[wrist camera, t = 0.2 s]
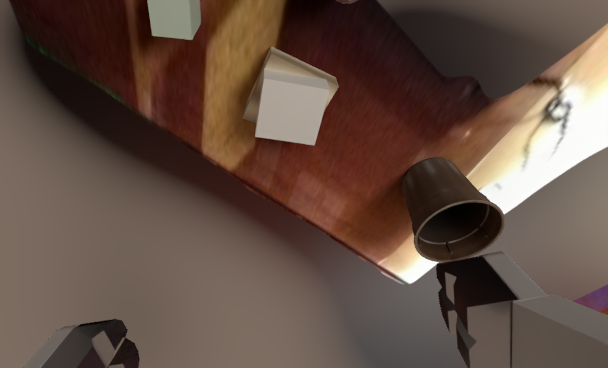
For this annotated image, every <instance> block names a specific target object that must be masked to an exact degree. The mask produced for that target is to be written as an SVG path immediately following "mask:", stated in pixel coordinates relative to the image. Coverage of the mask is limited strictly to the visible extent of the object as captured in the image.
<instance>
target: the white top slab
mask: <svg viewBox="0 0 608 368" xmlns="http://www.w3.org/2000/svg"><path fill="white" fill-rule="evenodd" d="M329 91H330V89H329V86H328V83H327V80H326V79H321V78H315V77H310V76H304V75H299V74H293V73H288V72H282V71H277V70H271V69H266V68H264V73H263V80H262V87H261V93H260V100H259V107H258V114H257V120H256V131H255V137H260V138H267V139H274V140H281V141H288V142H295V143H302V144H309V145H315V142H316V138H317V134H318V131H319V127H320V124H321V120H322V116H323V113H324V109H325V106H326V102H327V98H328V95H329Z"/></svg>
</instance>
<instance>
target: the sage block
mask: <svg viewBox="0 0 608 368" xmlns="http://www.w3.org/2000/svg"><path fill="white" fill-rule="evenodd" d="M147 2H148V9H149V16H150V23H151V30H152V36H159V37H169V38H179V39H189V40H192V39H193V37H194V35H195V33H196V31H197V30H198V28H199V26H200V24H201V15H200V0H147Z"/></svg>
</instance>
